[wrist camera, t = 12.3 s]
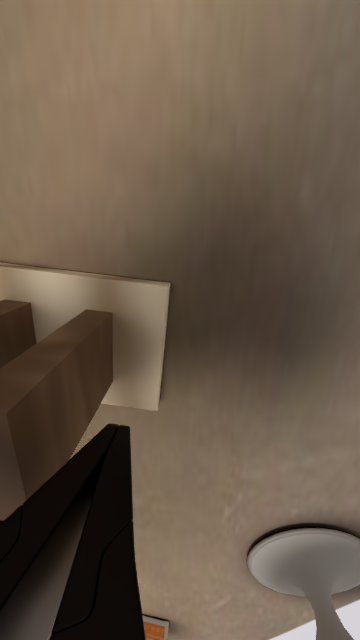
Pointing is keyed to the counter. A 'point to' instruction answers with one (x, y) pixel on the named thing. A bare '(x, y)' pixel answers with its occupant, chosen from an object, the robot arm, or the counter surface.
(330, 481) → the counter surface
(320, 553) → the chalice
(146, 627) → the skincare box
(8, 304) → the domino
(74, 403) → the domino
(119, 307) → the domino board
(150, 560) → the counter surface
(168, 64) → the counter surface
